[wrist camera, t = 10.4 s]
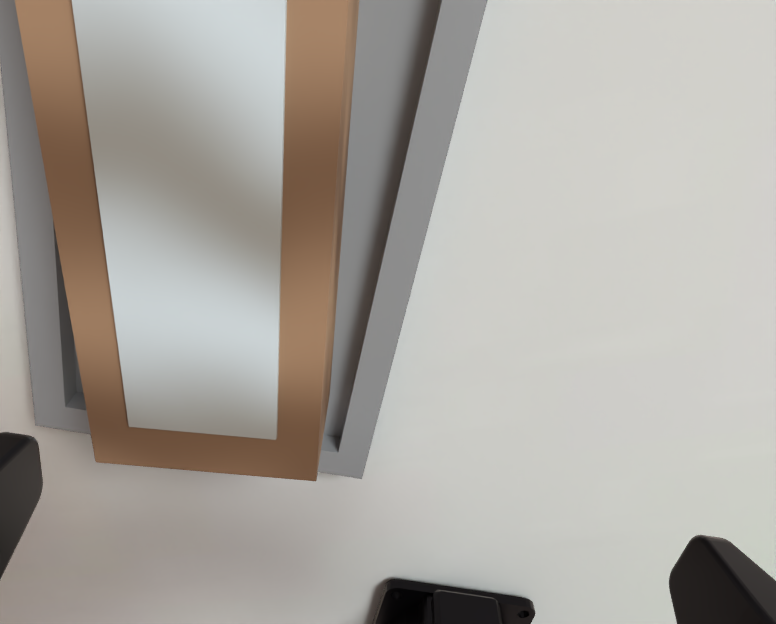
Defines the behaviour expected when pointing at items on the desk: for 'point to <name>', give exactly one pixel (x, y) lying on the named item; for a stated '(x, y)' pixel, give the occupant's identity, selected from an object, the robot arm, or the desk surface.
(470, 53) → the display tray
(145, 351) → the wooden box
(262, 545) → the desk surface
